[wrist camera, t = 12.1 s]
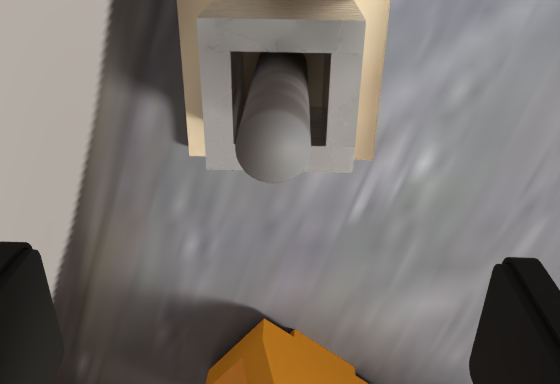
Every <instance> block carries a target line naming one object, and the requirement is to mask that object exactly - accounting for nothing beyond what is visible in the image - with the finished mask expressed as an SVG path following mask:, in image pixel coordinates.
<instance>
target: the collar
mask: <svg viewBox="0 0 560 384" xmlns="http://www.w3.org/2000/svg"><path fill="white" fill-rule="evenodd" d="M365 30H366V20H365V18H364V16H363V14H362V13H361V11H360V9H359V7H358V6H357V4H356V2H355V1H354V0H213V1H212V2H211V3H210V4H209V5H208V6H207V7H206V8H205V9H204V10H203V12H202V13H201V14H200V15H199V16H198V17H197V31H198V46H199V62H200V77H201V93H202V108H203V124H204V139H205V155H206V169H211V170H243V168H242V167H241V166H240V164H239V162H238V160H237V157H236V152H235V143H236V138H237V135H238V131H239V127H240V123H241V120H242V116H243V112H244V109H245V105H244V73H243V51H244V52H296V53H324V72H323V91H322V107H309V115H310V136H311V156H310V159H309V162H308V164H307V166H306V167H305V169H304V170H303V171H302V172H333V173H353V165H354V154H355V143H356V131H357V120H358V109H359V98H360V86H361V75H362V64H363V52H364V41H365Z"/></svg>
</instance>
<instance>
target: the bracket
mask: <svg viewBox="0 0 560 384" xmlns="http://www.w3.org/2000/svg"><path fill="white" fill-rule="evenodd" d="M206 384H368V383H367V382H365V381H364V380H362V379H360V378H359V377H357V376H356V375H355V367H354V366H352V365H351V364H349V363H347V362H346V361H344V360H343V359H341V358H340V357H338V356H336V355H335V354H333V353H332V352H330V351H328V350H327V349H325V348H324V347H322V346H321V345H319V344H317V343H316V342H314V341H313V340H311V339H309V338H308V337H306V336H305V335H303V334H302V333H300V332H298V331H297V330H295V329H294V330H293V331H292V332H291V333H290V334H288V333H287V332H285V331H284V330H282V329H280V328H279V327H277V326H276V325H274V324H272V323H271V322H269V321H268V320H266V319H263V320H262V321H261V322H260V323H259V324H258V325H257V326H256V327H254V328H253V329H252V330H251V331H250V332H249V333H248V334H247V335H246V336H245V337H244V338H243V339H242V340H241V341H239V342H238V343H237V344H236V345H235V346H234V347H233V348H232V349H231V350H230V351H229V352H228V353H227V354H226V355H225V356H223V357H222V358H221V359H220V360H219V361H218V362H217V363H216V364H215V365H214V366H213V367H212V368H211V369H210V370H209V371H208V375H207V380H206Z"/></svg>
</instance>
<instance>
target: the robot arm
mask: <svg viewBox="0 0 560 384" xmlns="http://www.w3.org/2000/svg"><path fill="white" fill-rule="evenodd" d="M63 352H64V345H63V341H62V337H61V333H60V329H59V325H58V321H57V317H56V313H55V309H54V306H53V302H52V298H51V294H50V290H49V286H48V282H47V278H46V275H45V271H44V267H43V263H42V259H41V255H40V253H39V252H38V250H33V249H32V246H31V245H30V244H29V243H26V242H0V384H50V382H51V380H52V378H53V376H54V374H55V372H56V370H57V369H58V367H59V365H60V363H61V360H62V357H63ZM469 370H470V376H471V379H472V382H473V384H560V290H559V289H558V287H557V286H556V284H555V283H554V281H553V280H552V278H551V277H550V275H549V274H548V272H547V271H546V270H545V268H544V267H543V265H542V264H541V262H540V261H539V260H538V259H536V258H518V257H507V258H505V259H504V261H503V262H502V264H496V265H495V266H494V268H493V271H492V275H491V279H490V283H489V287H488V291H487V294H486V298H485V302H484V306H483V310H482V314H481V317H480V321H479V325H478V329H477V333H476V337H475V341H474V344H473V348H472V352H471V356H470V361H469Z"/></svg>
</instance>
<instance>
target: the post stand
mask: <svg viewBox="0 0 560 384" xmlns="http://www.w3.org/2000/svg"><path fill="white" fill-rule="evenodd" d="M212 1H213V0H177V10H178V23H179V35H180V47H181V59H182V71H183V83H184V96H185V108H186V120H187V132H188V144H189V156H206V155H205V139H204V124H203V108H202V93H201V77H200V62H199V46H198V31H197V17H198V16H199V15H200V14H201V13H202V12H203V10H204V9H205V8H206V7H207V6H208V5H209V4H210V3H211V2H212ZM354 1H355V2H356V4H357V6H358V7H359V9H360V11H361V13H362V14H363V16H364V18H365V20H366V30H365V41H364V52H363V64H362V75H361V86H360V98H359V109H358V120H357V131H356V143H355V154H354V160H373V157H374V147H375V138H376V129H377V119H378V110H379V101H380V91H381V82H382V73H383V63H384V54H385V45H386V35H387V26H388V17H389V7H390V0H354ZM323 72H324V53H296V52H244V51H243V73H244V105H245V109H244V112H243V116H242V120H241V123H240V127H239V131H238V135H237V138H236V143H235V152H236V157H237V160H238V162H239V164H240V166H241V167H242V168H243V170H244V171H245V172H246V173H247V174H249V175H250V176H251V177H253V178H255V179H257V180H259V181H262V182H266V183H282V182H286V181H289V180H291V179H293V178H295V177H296V176H298V175H299V174H300V173H301V172H302V171H303V170H304V169H305V167H306V166H307V164H308V162H309V159H310V156H311V136H310V115H309V107H322V91H323Z"/></svg>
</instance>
